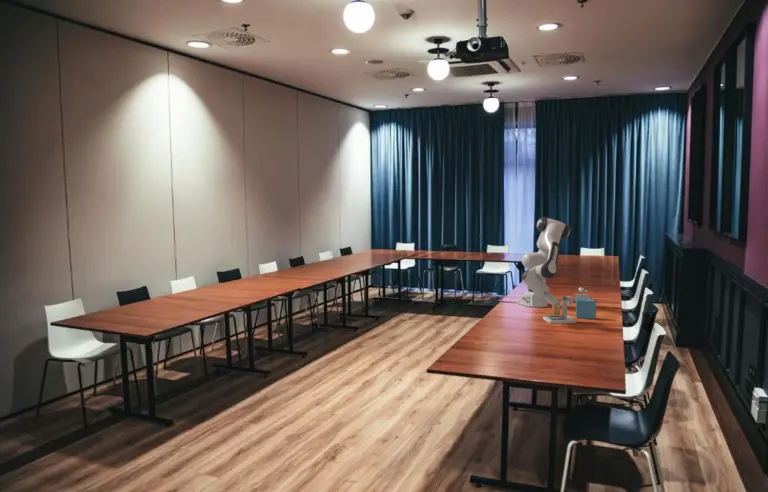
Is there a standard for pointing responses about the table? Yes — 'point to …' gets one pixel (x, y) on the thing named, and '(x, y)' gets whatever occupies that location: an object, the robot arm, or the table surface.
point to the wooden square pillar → (556, 308)
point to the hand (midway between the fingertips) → (557, 305)
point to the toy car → (581, 295)
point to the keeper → (564, 317)
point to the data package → (585, 309)
